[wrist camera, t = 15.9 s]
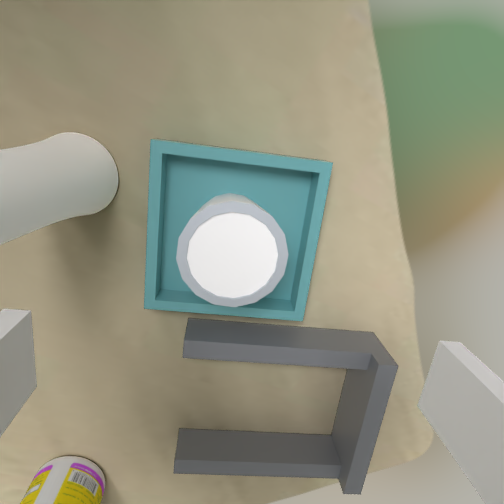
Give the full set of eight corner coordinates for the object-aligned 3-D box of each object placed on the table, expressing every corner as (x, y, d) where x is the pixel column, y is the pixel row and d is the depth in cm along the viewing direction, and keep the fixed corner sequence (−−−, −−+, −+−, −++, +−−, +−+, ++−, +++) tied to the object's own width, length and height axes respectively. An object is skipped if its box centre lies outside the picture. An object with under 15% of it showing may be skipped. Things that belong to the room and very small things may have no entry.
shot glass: (168, 230, 28) (151, 260, 21) (228, 165, 27) (230, 176, 20) (232, 284, 30) (235, 327, 23) (291, 226, 29) (311, 254, 22)
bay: (178, 441, 35) (171, 489, 30) (188, 318, 31) (181, 351, 26) (343, 448, 37) (360, 494, 32) (373, 332, 33) (398, 365, 28)
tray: (157, 138, 26) (150, 139, 24) (323, 160, 28) (332, 162, 25) (150, 294, 30) (144, 308, 28) (296, 307, 31) (302, 321, 29)
